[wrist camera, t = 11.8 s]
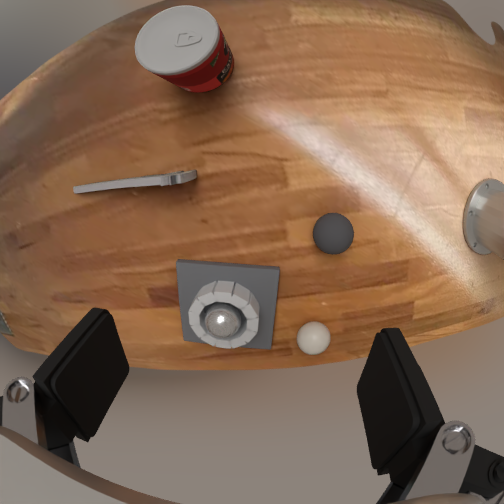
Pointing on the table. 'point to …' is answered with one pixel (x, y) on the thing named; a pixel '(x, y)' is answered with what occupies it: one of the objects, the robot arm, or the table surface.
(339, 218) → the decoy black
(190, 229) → the table surface
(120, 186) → the caliper
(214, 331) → the steel ball
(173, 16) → the canned food
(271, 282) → the housing
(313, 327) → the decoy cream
